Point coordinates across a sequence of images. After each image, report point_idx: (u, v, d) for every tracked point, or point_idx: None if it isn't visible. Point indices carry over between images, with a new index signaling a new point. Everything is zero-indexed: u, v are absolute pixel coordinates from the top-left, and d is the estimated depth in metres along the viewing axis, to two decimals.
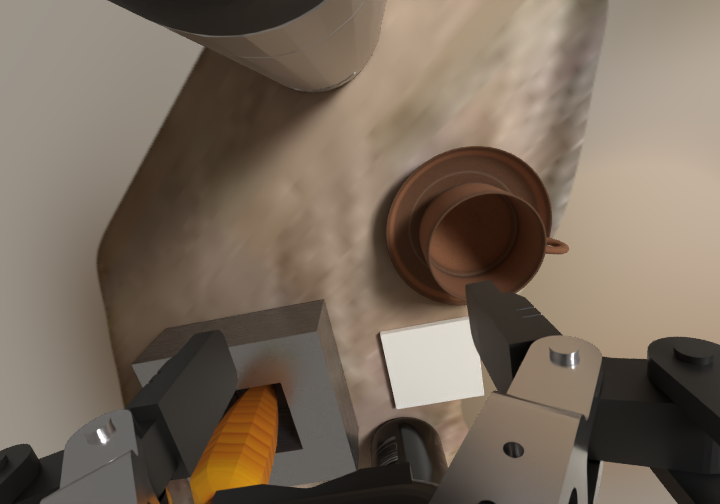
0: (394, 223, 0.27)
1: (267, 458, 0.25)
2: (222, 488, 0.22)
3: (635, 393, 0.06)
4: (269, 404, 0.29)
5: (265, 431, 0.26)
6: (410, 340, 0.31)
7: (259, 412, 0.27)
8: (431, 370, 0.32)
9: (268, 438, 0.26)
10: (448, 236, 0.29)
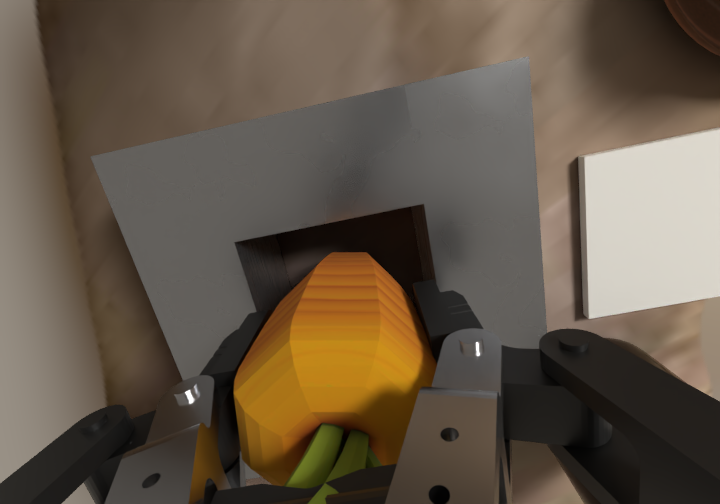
0: None
1: (429, 349, 0.09)
2: (342, 400, 0.07)
3: (526, 377, 0.07)
4: (384, 271, 0.14)
5: (403, 300, 0.11)
6: (641, 169, 0.16)
7: (378, 268, 0.12)
8: (669, 237, 0.17)
9: (414, 314, 0.11)
10: None
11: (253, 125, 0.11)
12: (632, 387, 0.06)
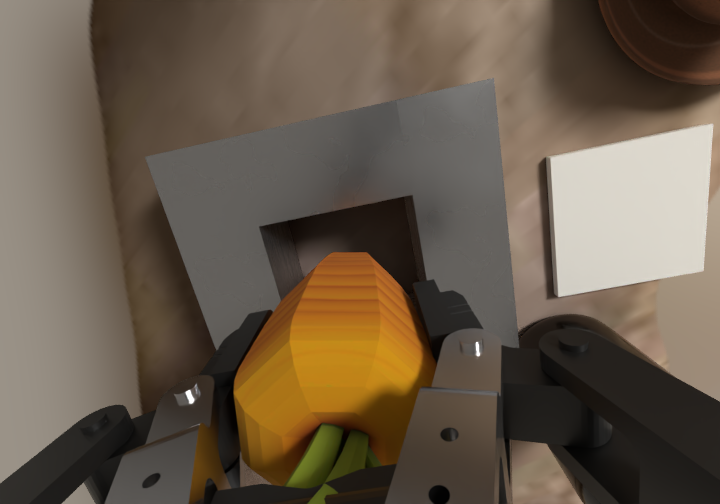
0: None
1: (429, 349, 0.09)
2: (342, 400, 0.07)
3: (526, 378, 0.07)
4: (384, 271, 0.14)
5: (403, 300, 0.11)
6: (598, 167, 0.19)
7: (379, 268, 0.12)
8: (624, 225, 0.20)
9: (414, 314, 0.11)
10: None
11: (276, 132, 0.14)
12: (632, 387, 0.06)
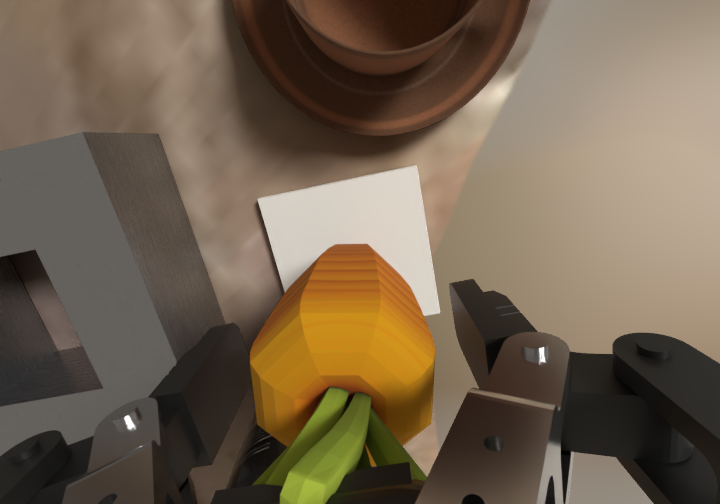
0: None
1: None
2: (347, 365, 0.08)
3: (600, 386, 0.07)
4: None
5: (401, 284, 0.12)
6: (309, 209, 0.18)
7: (379, 256, 0.13)
8: None
9: (412, 297, 0.12)
10: (355, 13, 0.16)
11: None
12: (719, 403, 0.05)
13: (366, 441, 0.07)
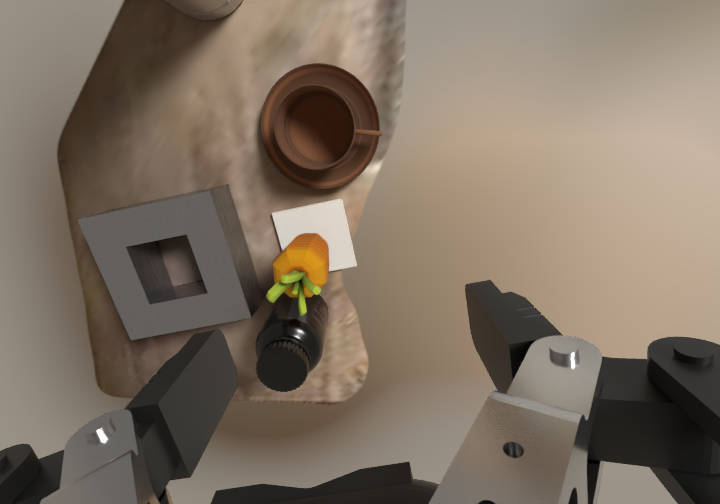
0: (268, 125, 0.38)
1: (326, 258, 0.33)
2: (298, 263, 0.31)
3: (635, 393, 0.06)
4: (322, 239, 0.37)
5: (323, 246, 0.34)
6: (294, 218, 0.41)
7: (317, 237, 0.35)
8: None
9: (326, 250, 0.34)
10: (312, 138, 0.39)
11: (128, 210, 0.36)
12: None
13: (302, 280, 0.30)
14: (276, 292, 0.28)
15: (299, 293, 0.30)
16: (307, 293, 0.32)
